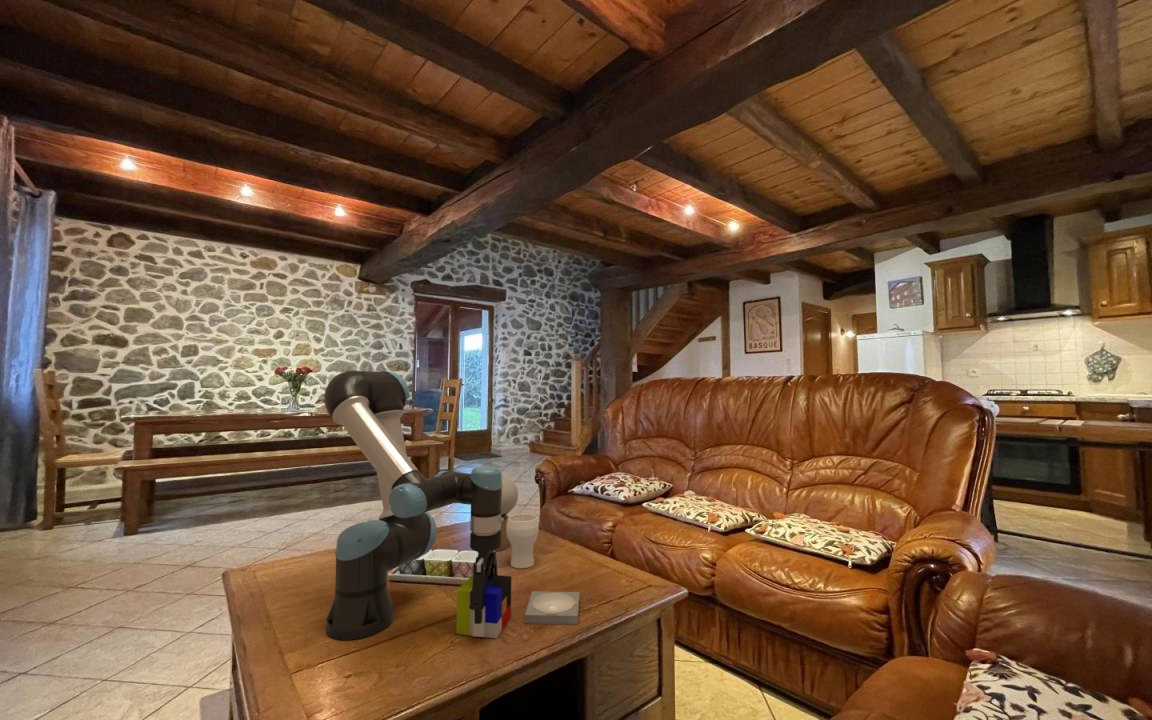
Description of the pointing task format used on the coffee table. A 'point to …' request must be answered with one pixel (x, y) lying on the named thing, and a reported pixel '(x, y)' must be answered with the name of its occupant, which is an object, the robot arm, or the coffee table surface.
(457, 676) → the coffee table surface
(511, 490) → the lamp
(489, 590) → the puzzle toy
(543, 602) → the plinth
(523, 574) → the coffee table surface
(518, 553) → the cup
